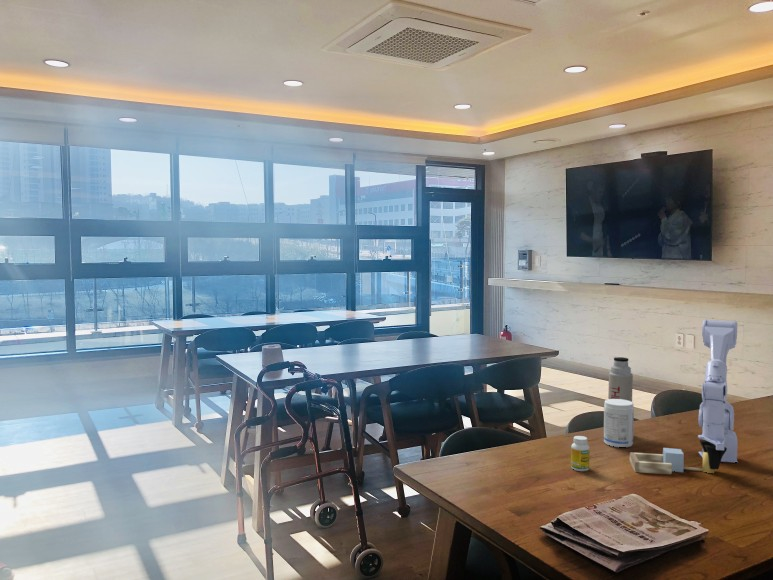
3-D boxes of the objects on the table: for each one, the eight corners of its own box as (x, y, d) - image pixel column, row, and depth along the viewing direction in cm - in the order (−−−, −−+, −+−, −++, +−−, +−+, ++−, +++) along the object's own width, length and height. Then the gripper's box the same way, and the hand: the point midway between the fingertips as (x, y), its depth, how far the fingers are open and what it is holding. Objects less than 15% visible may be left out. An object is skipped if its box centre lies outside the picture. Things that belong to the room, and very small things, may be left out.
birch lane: (664, 463, 195) (664, 454, 195) (671, 474, 186) (671, 464, 185) (629, 461, 197) (629, 452, 197) (635, 471, 188) (635, 462, 188)
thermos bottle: (619, 439, 220) (621, 360, 218) (602, 433, 227) (604, 356, 225) (636, 436, 223) (638, 358, 222) (619, 431, 231) (620, 355, 229)
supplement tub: (613, 438, 222) (614, 397, 221) (638, 444, 214) (639, 402, 213) (597, 443, 216) (598, 401, 215) (623, 450, 208) (624, 406, 207)
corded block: (712, 469, 190) (712, 451, 189) (716, 475, 185) (716, 456, 185) (662, 465, 194) (663, 447, 193) (665, 470, 189) (665, 452, 188)
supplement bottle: (578, 464, 194) (579, 434, 194) (593, 469, 190) (593, 438, 189) (567, 467, 191) (567, 436, 191) (581, 472, 187) (581, 441, 186)
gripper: (692, 415, 195) (691, 458, 195) (706, 427, 180) (704, 474, 181) (717, 416, 193) (715, 459, 194) (732, 429, 179) (731, 475, 180)
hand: (712, 466), depth 188 cm, fingers closed on corded block, 3 cm apart
